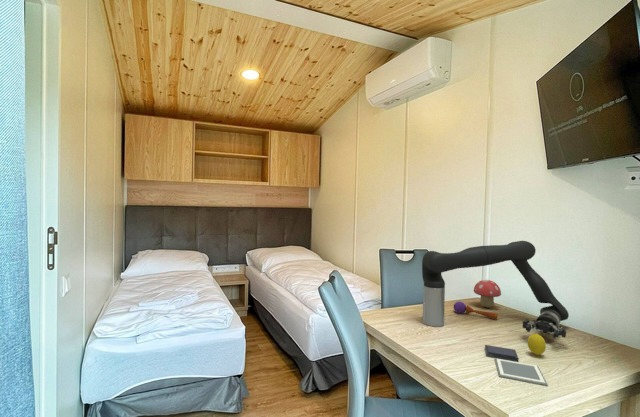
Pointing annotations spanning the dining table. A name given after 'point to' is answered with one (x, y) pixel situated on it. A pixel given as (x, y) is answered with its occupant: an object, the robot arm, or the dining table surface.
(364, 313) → the dining table surface
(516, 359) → the ink pad
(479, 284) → the decorative mushroom
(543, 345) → the lemon
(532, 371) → the marked board
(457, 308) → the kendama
